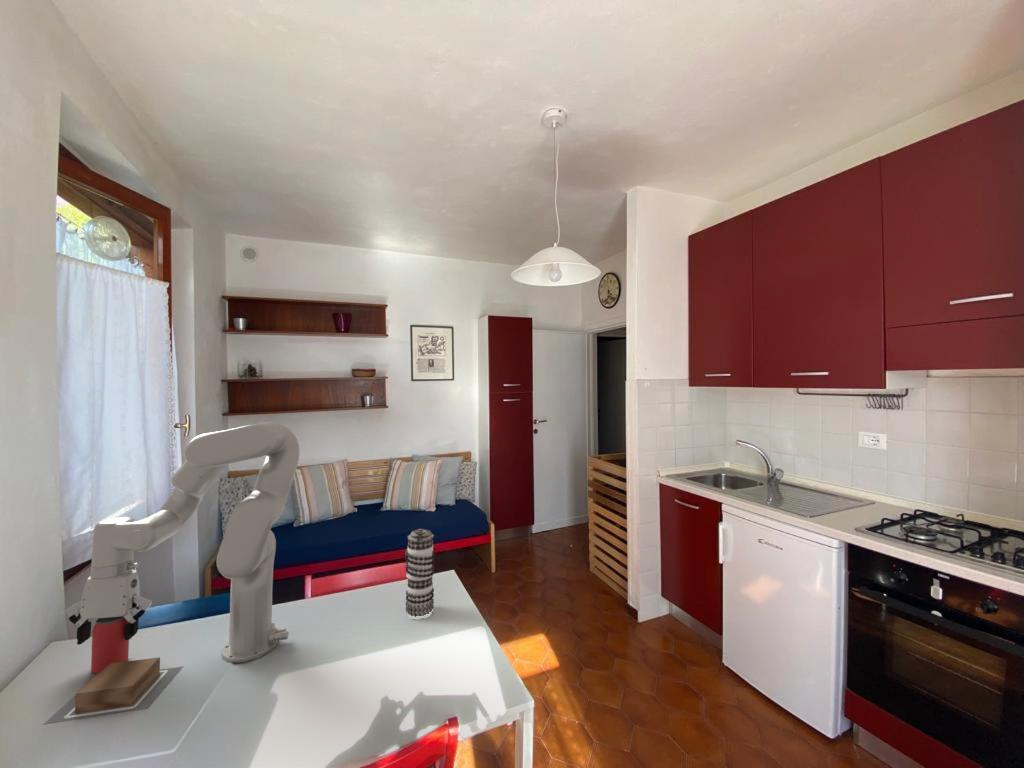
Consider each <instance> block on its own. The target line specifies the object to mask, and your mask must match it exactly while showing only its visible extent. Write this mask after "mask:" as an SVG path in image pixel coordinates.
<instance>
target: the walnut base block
mask: <svg viewBox="0 0 1024 768" xmlns="http://www.w3.org/2000/svg"><path fill="white" fill-rule="evenodd" d="M160 666H161V657H160V656H159V657H151V658H144V659H137V660H136V659H135V660H127V661H126V662H119V663H111V664H109V665H108V666H107V667H105V668H104V669H103V670H102V671H101V672H100V673H96V675H95V676H94V677H93V678H92V679H90V680H89V681H88V682H87V683H86V684H85V685H83V687H82V688H80V689H79V690H78V691H77V692H76V693H75V695H76V698H75V713H80V712H87V711H93V710H100V709H107V708H114V707H121V706H127V705H132V704H133V703H134V702H135V701H136V700H137V699H138V697H139V696H140V695H141V694H142V693H143V692H144V691H145V690H146V689H147V688H148V686H149V685H150V684H151V683H152V682H153V681H154V680H155V679H156V678H157V677H158V676H159V674H160Z"/></svg>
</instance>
